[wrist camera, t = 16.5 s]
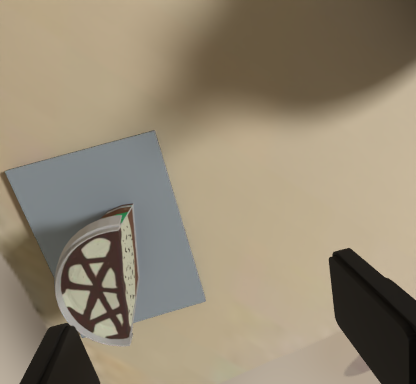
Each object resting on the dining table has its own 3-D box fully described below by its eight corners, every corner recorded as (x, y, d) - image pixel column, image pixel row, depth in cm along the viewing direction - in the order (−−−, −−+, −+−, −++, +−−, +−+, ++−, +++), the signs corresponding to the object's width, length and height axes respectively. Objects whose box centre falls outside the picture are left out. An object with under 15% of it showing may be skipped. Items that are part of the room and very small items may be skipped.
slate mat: (9, 169, 33) (4, 171, 32) (154, 130, 34) (154, 130, 33) (84, 332, 39) (82, 338, 38) (204, 296, 40) (205, 301, 39)
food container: (74, 193, 33) (36, 228, 24) (132, 190, 34) (117, 223, 24) (87, 292, 37) (59, 358, 27) (140, 288, 37) (130, 350, 28)
